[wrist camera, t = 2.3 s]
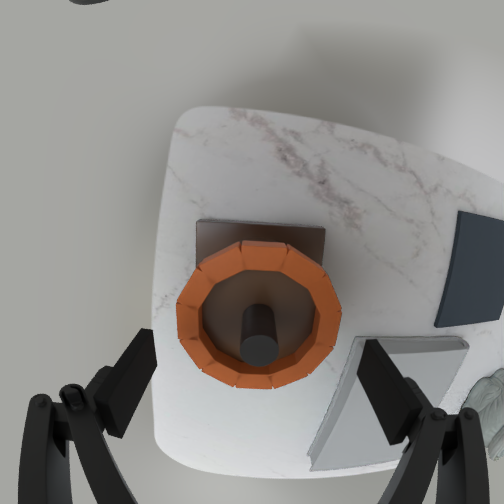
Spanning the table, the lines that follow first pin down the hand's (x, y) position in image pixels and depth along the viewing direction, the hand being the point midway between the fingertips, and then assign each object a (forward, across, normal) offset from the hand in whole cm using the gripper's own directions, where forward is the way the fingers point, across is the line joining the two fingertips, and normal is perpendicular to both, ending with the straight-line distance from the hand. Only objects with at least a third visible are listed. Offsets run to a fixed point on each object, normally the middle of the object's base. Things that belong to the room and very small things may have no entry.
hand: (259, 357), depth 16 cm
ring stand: (+13, 0, 0) cm, 13 cm away
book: (+13, +20, -19) cm, 30 cm away
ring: (+5, 0, 0) cm, 5 cm away
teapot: (+13, +48, -22) cm, 54 cm away
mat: (+13, +31, +2) cm, 34 cm away
